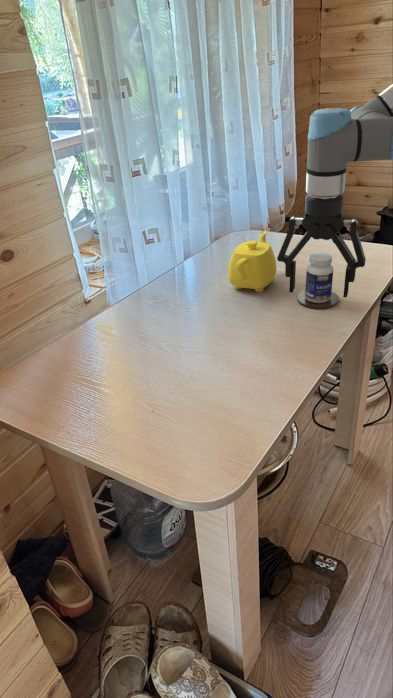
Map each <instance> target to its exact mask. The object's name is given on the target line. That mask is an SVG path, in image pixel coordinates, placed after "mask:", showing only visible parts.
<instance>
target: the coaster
mask: <svg viewBox="0 0 393 698" xmlns="http://www.w3.org/2000/svg"><path fill="white" fill-rule="evenodd" d="M339 301H340V297H339V295H338V294H337V293H336V292H334V291H332V292H331V298H330V300H328V301H327V302H323V303H314V302H311V301H309V300H307V299H306V297H305V290H303V291H301V292H299V294H298V295H297V302H298V304H299V305H301V306H303V307H305V308H307V309H311V310H327V309H331V308H334V307H335V306H337V305H338V304H339Z"/></svg>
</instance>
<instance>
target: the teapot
mask: <svg viewBox="0 0 393 698" xmlns="http://www.w3.org/2000/svg"><path fill="white" fill-rule="evenodd" d="M266 238H267V230H262V231H261V233H260V236H259V240H258V241H257V240H254V239H253V240H252V239H251V240H248V241H243V242H241V243H240V244H238V245H236V247H235V248H234V249H233V251H232V254H231V257H230V260H229V263H228V269H227V279H228V281H229V283H230V285H232V286H234V287H233V288H234V289H237V290H241V289H252V290H254V292H258V293H261V292H263V291H264V290H265V289H264V288H265V287H267V286H269V285H270V284H271V283H272V281H273V280H274V279H275V276H276V274H277V258H276V256H275V252H274V250H273V248H272V246H271V244H270V243H268V242H267V241H266Z"/></svg>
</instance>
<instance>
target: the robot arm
mask: <svg viewBox="0 0 393 698" xmlns="http://www.w3.org/2000/svg"><path fill="white" fill-rule="evenodd" d="M307 133H308V134H307V157H306V158H307V161H306V177H305V179H306V180H305V192H306V195H305V200H304V201H305V202H304V203H305V204H304V216H303V217H297V216H295V215H292V216H291V217H290V219H289V221H288V230H287V233H286V235H285V238H284V240H283V243H282V245H281V247H280V250H279V253H278V255H277V257H276V261H278V262H282V263H283V264H284V265H285V270H284V271H285V272H284V274H285V278H289V289H288V290H289V293H292V294H293V293H294V291H295V288H296V270H297V269H296V268H297V267H296V266H297V261H296V260H294V259H295V258H297V256H298V255H299V253H300V252H301V250H302V249H304V247H305V246H306V244H307V243H308V242H309V241H310V240H311V239H313V240H324V241H330V240H331V241H332V242H333V244H334V245H335V246H336V248H337V250H338V251H339V253H340V255H341V256H342V257H343V259H344V261H345V262H346V267H345V273H344V287H343V298H348V294H349V287H350V283H354V282H355V279H356V271H357V269H358V268H364V267H365V266H366V261H367V259H366V255H365V252H364V249H363V245H362V241H361V237H360V235H359V230H358V226H359V225H358V224H359V220H358V218H352V219H345V218H344V215H343V213H344V201H345V196H344V194H343V193H344V192H345V187H346V178H347V177H346V176H347V166H348V163H355V162H370V161H389V160H390V161H393V83H392V84H391V85H389V86H388V87H387V88H385V89H384V90H383V91H382V92H380V93H378V94H377V95H376V96H375V97H373V98H371V99H370V100H369V101H368V102H366V103H365V104H359V105H356V106H354V107H352V108H351V109H349V108H345V107H327V108H320V109H316V110H315V111H313V112H312V113H311V114H310V117H309V126H308V132H307ZM300 225H302V226H303V228H304V229H305V230H306V232H305V233H304V235H303V236H302V237H301V238H300V240H299V242H297V244H296V245H295V247H294V248H293V249H292V250H291V252H290V253H289V254H286V253H287V251H288V248H289V246H290V244H291V241H292V239H293V236H294V234H295V232H296V230H297V229H299V228H300ZM343 227H345V228H346V231H347V232H349V235H350V239H351V240H350V241H351V243H352V246H353V250H354V252H355V253H354V254H355V257H356V258H355V257H354V255H353V253H352V251H351V250H350V248H349V246H348V245H347V243H346V242H345V240H344V238H343V237H342V233H341V232H340V231H341V229H342V228H343Z"/></svg>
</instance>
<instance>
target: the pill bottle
mask: <svg viewBox="0 0 393 698" xmlns="http://www.w3.org/2000/svg"><path fill="white" fill-rule="evenodd" d="M308 259H309V260H308V261H309V264H308V265H307V267H306V273H305V276H306V277H305V287H304V288H305V289H304V291H305V297H306V299H307V300H309V301H311V302H314V303H323V302H327V301H328V300H330V298H331V292H333V280H334V279H333V278H334V267H333V265H332V262H333V256H332V255H331V254H329V253H326V252H314V253H311V254H310V255H309V258H308Z"/></svg>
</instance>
